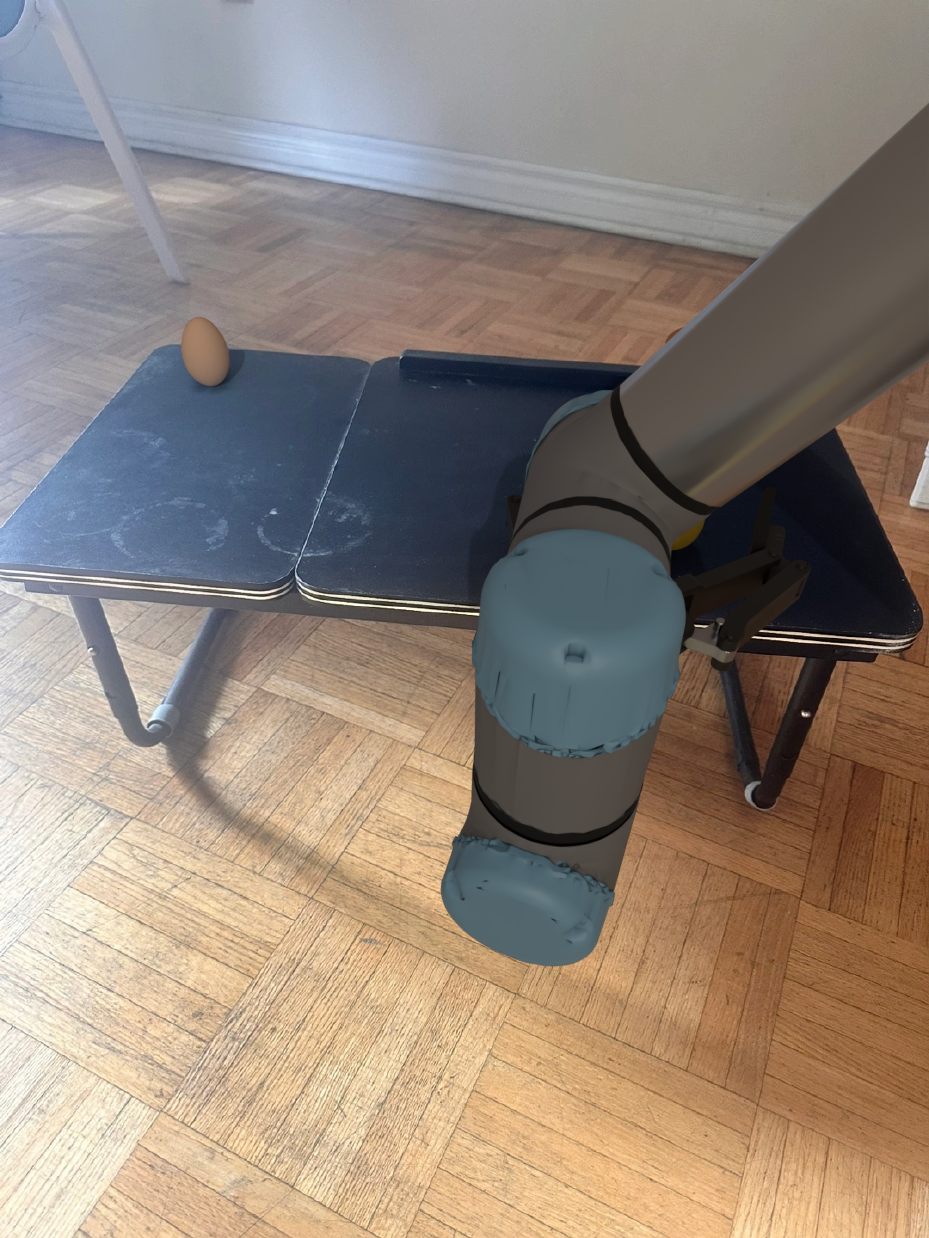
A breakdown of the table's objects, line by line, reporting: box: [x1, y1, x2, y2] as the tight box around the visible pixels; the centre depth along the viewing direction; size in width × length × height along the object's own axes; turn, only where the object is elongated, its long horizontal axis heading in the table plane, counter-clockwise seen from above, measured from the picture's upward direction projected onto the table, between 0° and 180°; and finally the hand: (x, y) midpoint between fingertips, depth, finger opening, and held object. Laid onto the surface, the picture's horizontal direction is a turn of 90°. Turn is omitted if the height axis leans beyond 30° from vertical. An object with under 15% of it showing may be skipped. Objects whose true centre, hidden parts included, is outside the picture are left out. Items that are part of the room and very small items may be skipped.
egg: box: [180, 316, 231, 387], centre depth 96 cm, size 5×5×8 cm
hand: (671, 482), depth 60 cm, fingers open, 13 cm apart
